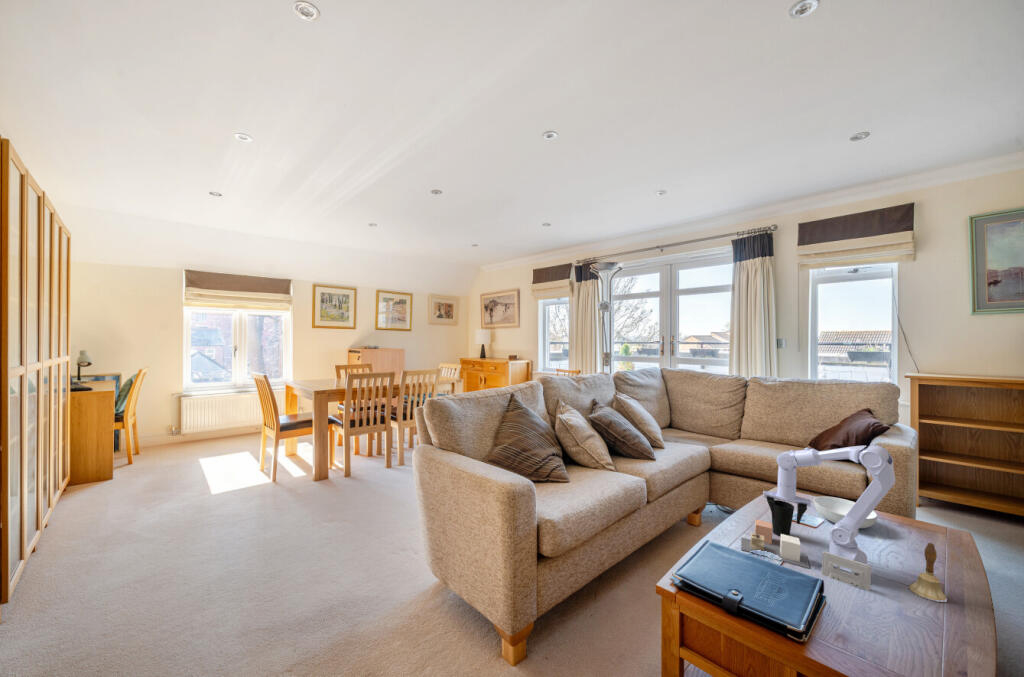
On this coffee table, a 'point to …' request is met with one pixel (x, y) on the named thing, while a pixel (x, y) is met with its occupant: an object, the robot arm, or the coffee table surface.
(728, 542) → the coffee table surface
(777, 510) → the cup
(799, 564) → the charcoal mat
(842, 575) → the cassette
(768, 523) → the terracotta cover
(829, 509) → the serving bowl
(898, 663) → the coffee table surface
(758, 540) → the letter cube
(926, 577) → the hand bell
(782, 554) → the cream block
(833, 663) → the coffee table surface
